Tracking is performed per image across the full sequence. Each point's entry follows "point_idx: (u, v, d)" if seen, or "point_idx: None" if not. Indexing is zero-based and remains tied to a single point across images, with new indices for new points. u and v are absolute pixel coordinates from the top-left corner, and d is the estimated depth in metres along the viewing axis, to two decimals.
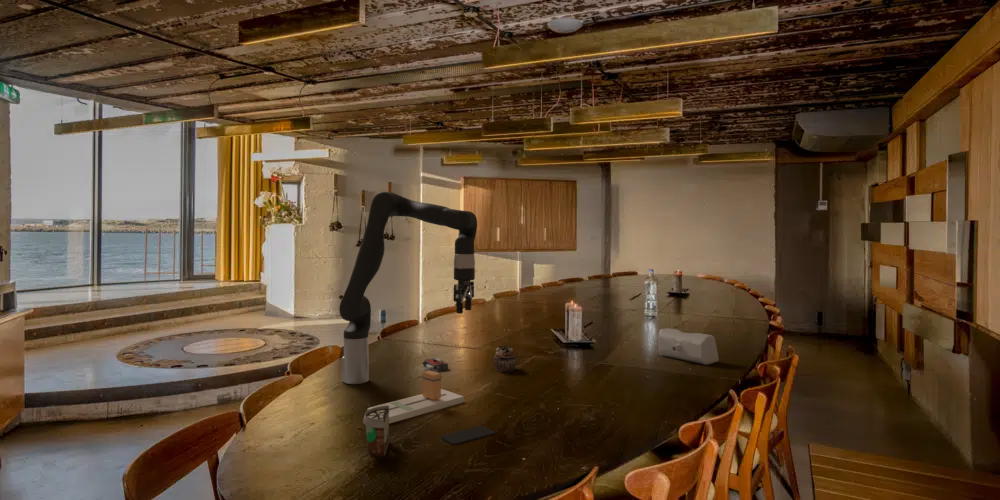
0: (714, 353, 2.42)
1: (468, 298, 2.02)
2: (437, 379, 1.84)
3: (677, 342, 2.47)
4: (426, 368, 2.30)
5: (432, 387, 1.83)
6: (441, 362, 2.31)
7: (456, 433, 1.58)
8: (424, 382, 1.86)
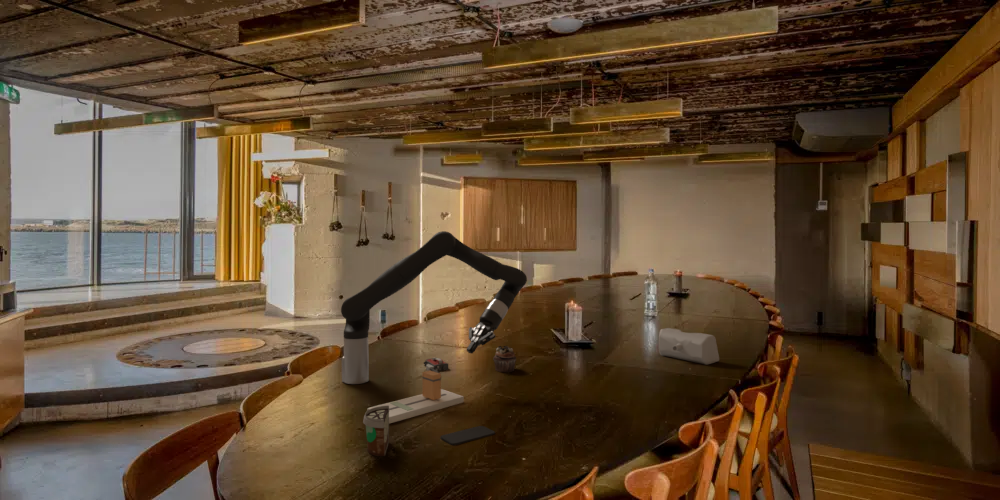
0: (715, 353, 2.42)
1: None
2: (437, 379, 1.84)
3: (678, 342, 2.47)
4: (426, 368, 2.31)
5: (432, 387, 1.83)
6: (441, 362, 2.31)
7: (456, 433, 1.58)
8: (424, 382, 1.86)
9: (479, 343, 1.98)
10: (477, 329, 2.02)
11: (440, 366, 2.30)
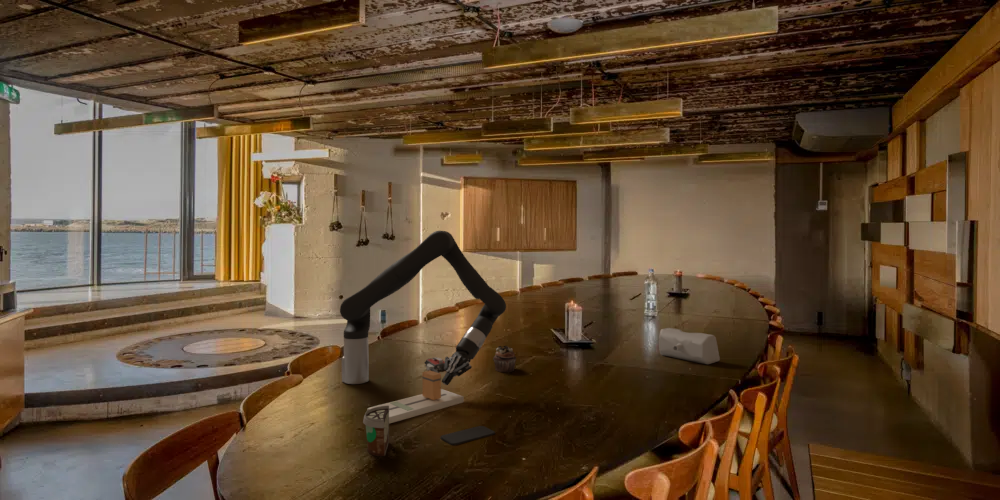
0: (715, 353, 2.42)
1: None
2: (437, 379, 1.84)
3: (678, 342, 2.47)
4: (427, 367, 2.31)
5: (432, 387, 1.83)
6: (442, 362, 2.31)
7: (456, 433, 1.58)
8: (424, 382, 1.86)
9: (455, 374, 1.90)
10: (453, 359, 1.94)
11: (440, 366, 2.30)
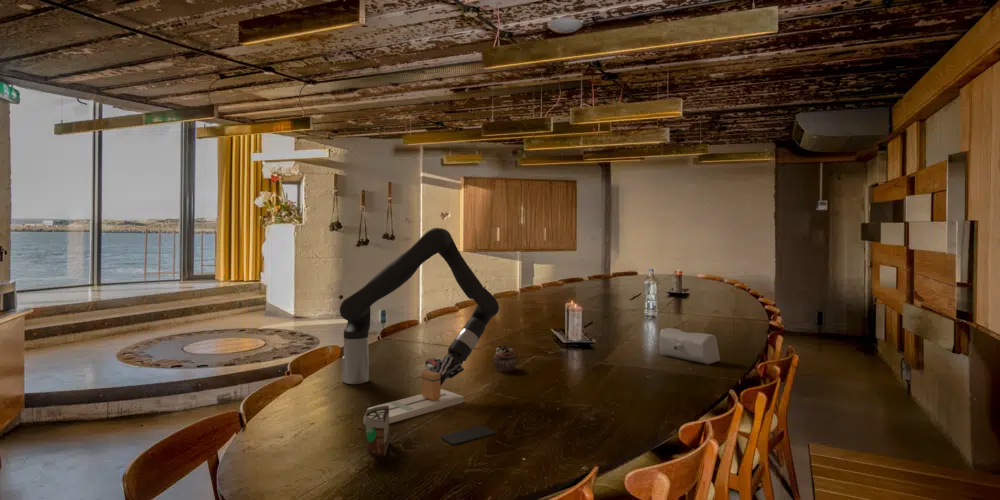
0: (715, 352, 2.43)
1: None
2: (436, 379, 1.84)
3: (678, 342, 2.47)
4: (427, 368, 2.31)
5: (431, 387, 1.83)
6: None
7: (456, 433, 1.58)
8: (423, 382, 1.86)
9: (446, 376, 1.88)
10: (445, 361, 1.91)
11: None
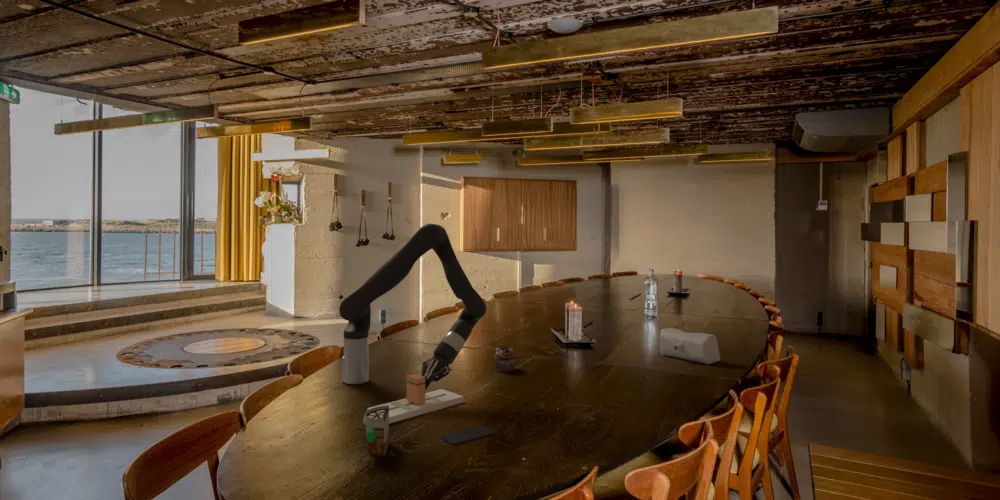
0: (716, 352, 2.43)
1: None
2: (421, 383, 1.79)
3: (679, 342, 2.48)
4: None
5: (416, 391, 1.79)
6: None
7: (456, 433, 1.58)
8: (408, 386, 1.82)
9: (432, 380, 1.84)
10: (430, 364, 1.87)
11: None
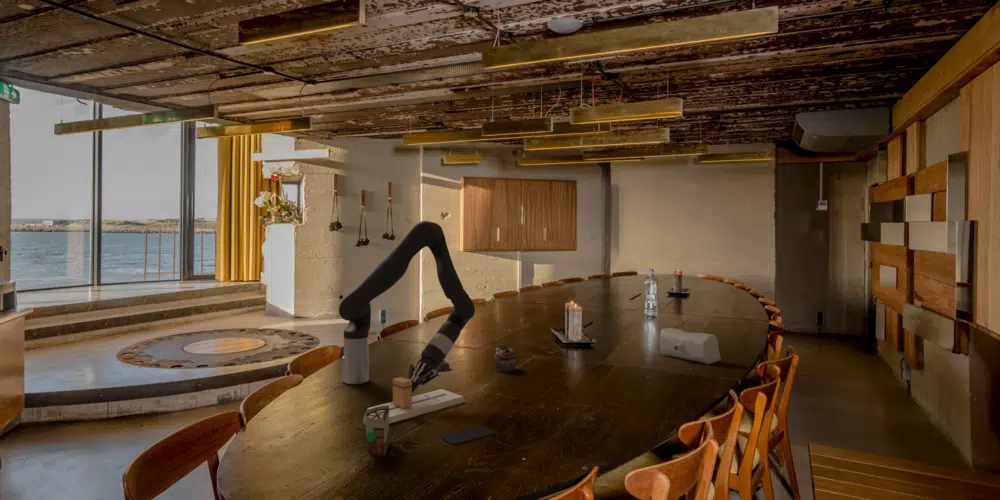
0: (716, 352, 2.43)
1: None
2: (407, 386, 1.75)
3: (679, 342, 2.48)
4: None
5: (402, 395, 1.75)
6: (442, 362, 2.32)
7: (456, 433, 1.58)
8: (394, 389, 1.78)
9: (419, 383, 1.80)
10: (417, 367, 1.83)
11: (440, 366, 2.30)
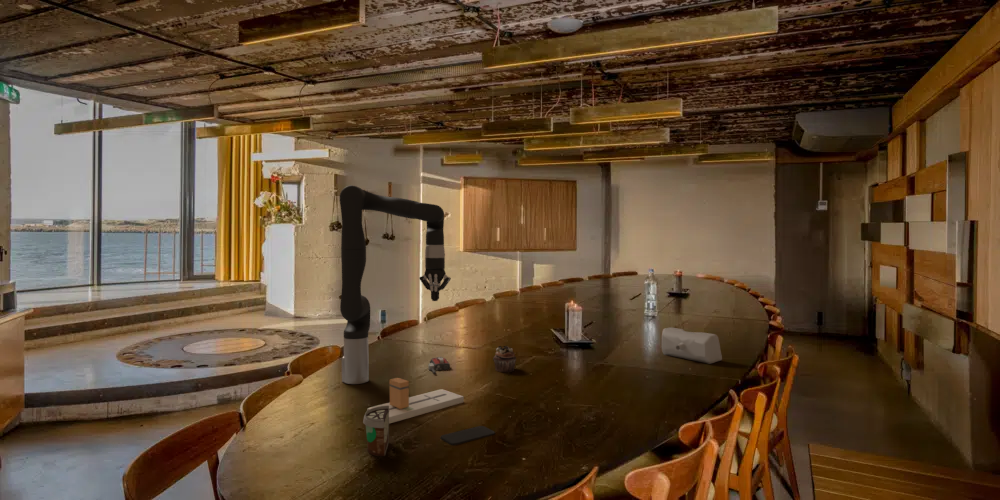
0: (717, 352, 2.44)
1: None
2: (404, 387, 1.75)
3: (681, 341, 2.49)
4: (428, 367, 2.33)
5: (399, 395, 1.74)
6: (443, 362, 2.32)
7: (456, 433, 1.58)
8: (391, 390, 1.77)
9: None
10: (430, 278, 2.13)
11: (441, 366, 2.31)
